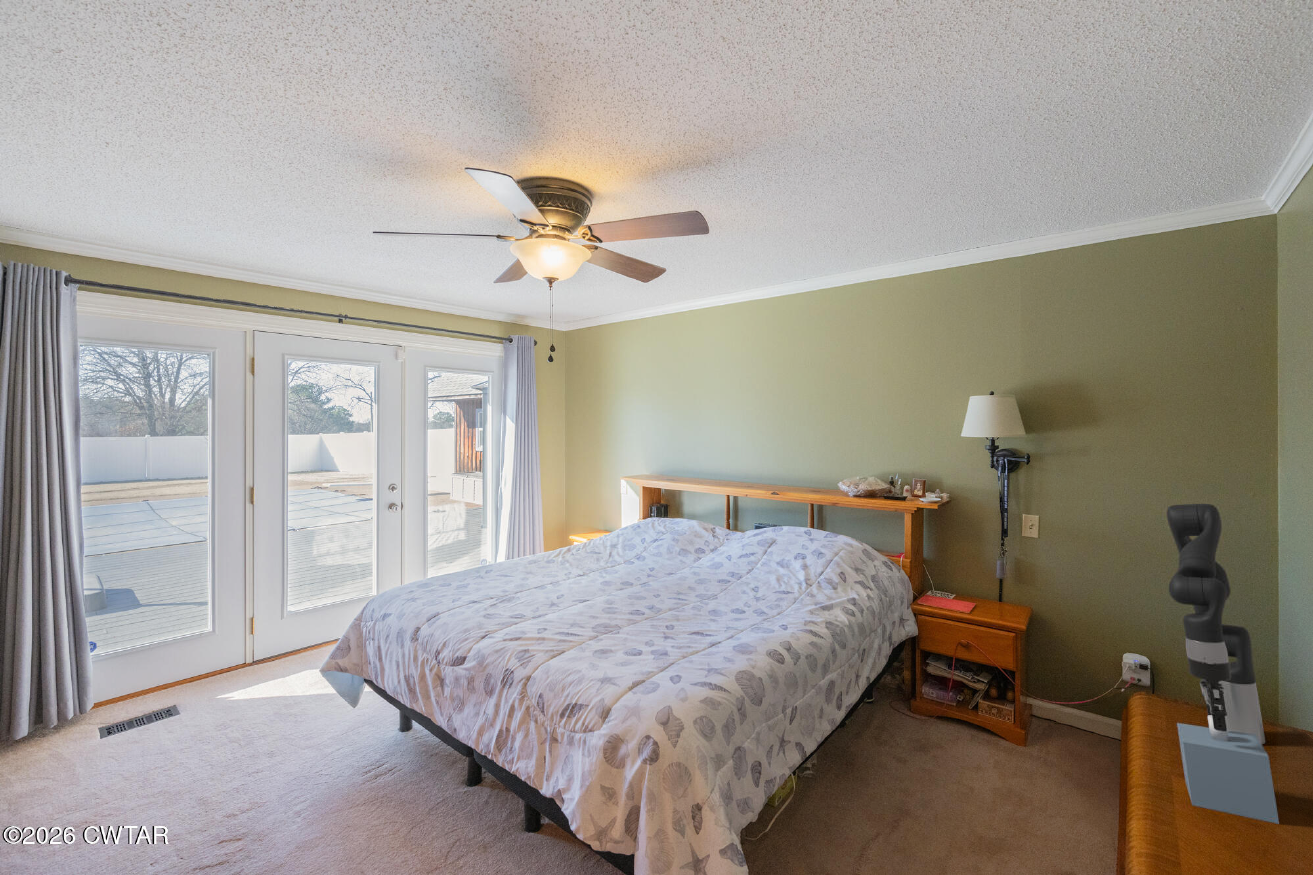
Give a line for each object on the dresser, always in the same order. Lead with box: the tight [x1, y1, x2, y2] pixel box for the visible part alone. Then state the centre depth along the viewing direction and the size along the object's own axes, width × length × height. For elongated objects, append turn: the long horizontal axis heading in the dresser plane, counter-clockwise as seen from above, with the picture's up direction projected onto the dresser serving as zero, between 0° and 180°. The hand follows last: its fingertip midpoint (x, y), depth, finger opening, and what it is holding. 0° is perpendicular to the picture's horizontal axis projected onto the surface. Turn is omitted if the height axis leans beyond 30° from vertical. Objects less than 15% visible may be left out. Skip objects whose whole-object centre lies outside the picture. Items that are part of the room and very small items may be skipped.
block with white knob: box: [1176, 714, 1280, 825], centre depth 138 cm, size 13×15×20 cm
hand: (1217, 723), depth 139 cm, fingers open, 8 cm apart
